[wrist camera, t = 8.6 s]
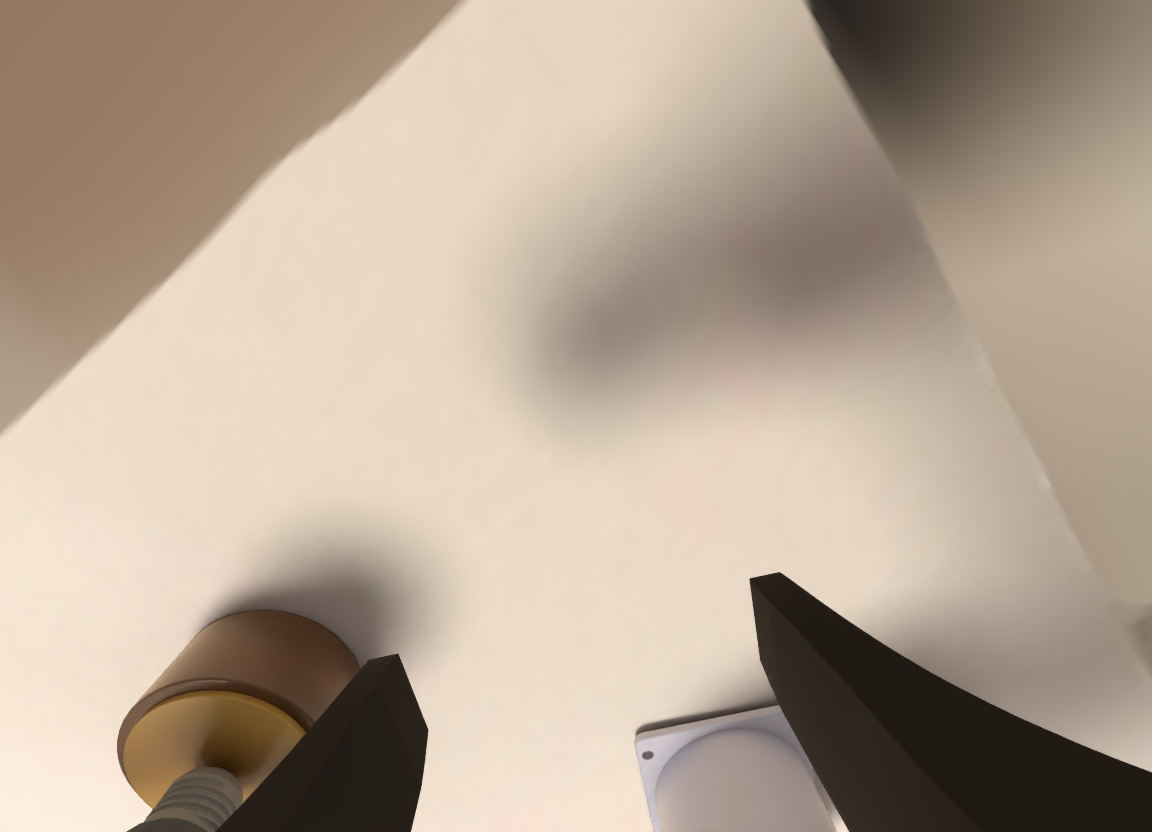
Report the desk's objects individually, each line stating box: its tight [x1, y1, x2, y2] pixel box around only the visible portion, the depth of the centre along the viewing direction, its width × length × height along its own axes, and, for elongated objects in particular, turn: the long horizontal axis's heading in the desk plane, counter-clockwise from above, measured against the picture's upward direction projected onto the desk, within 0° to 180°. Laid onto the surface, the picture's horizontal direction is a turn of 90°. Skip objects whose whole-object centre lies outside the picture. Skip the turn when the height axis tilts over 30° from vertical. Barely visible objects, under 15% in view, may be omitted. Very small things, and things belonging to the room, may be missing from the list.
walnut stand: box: [117, 610, 360, 809], centre depth 21 cm, size 8×8×4 cm
